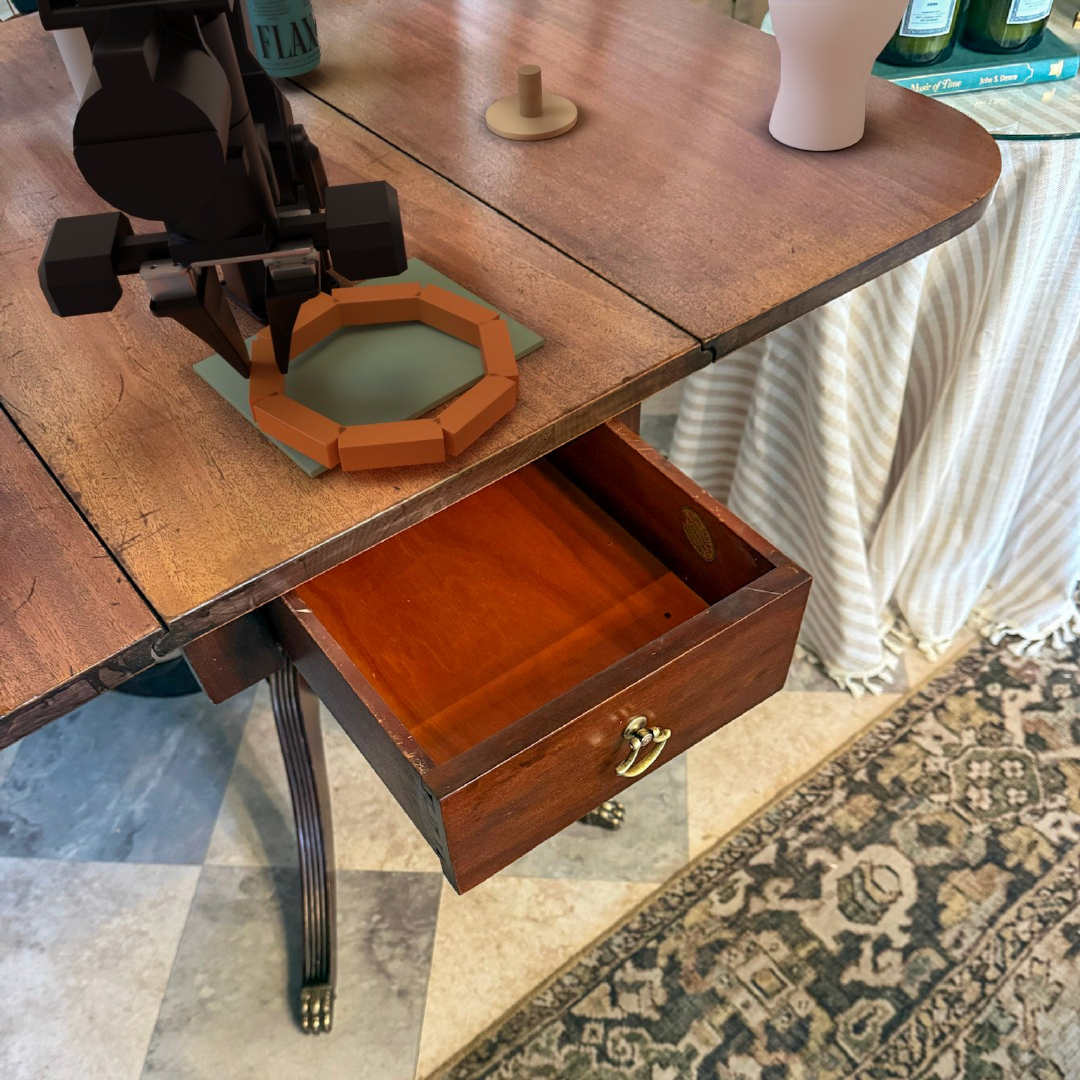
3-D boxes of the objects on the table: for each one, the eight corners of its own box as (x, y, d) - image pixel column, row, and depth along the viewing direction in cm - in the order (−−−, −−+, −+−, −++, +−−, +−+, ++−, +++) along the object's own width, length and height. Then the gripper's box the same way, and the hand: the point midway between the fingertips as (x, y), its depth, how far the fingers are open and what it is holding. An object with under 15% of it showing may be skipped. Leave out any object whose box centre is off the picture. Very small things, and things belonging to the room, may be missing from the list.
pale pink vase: (839, 93, 88) (874, -102, 77) (906, 146, 81) (955, -61, 70) (729, 115, 86) (749, -82, 75) (788, 170, 79) (820, -38, 68)
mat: (312, 478, 58) (310, 472, 57) (194, 371, 65) (191, 365, 65) (544, 344, 65) (544, 338, 65) (415, 262, 73) (414, 256, 72)
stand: (527, 150, 84) (524, 98, 80) (467, 120, 88) (462, 70, 85) (596, 118, 87) (596, 67, 84) (535, 91, 91) (533, 42, 88)
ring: (251, 481, 56) (245, 457, 54) (258, 317, 66) (253, 294, 65) (532, 453, 58) (532, 429, 56) (495, 298, 68) (495, 275, 67)
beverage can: (141, 107, 92) (93, -36, 83) (89, 121, 91) (34, -23, 82) (127, 89, 95) (79, -51, 86) (76, 102, 94) (22, -39, 85)
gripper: (373, 32, 55) (411, 279, 66) (23, 69, 53) (124, 315, 65) (385, 122, 47) (426, 383, 59) (-22, 168, 46) (101, 426, 57)
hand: (267, 372), depth 60 cm, fingers closed on ring, 2 cm apart
